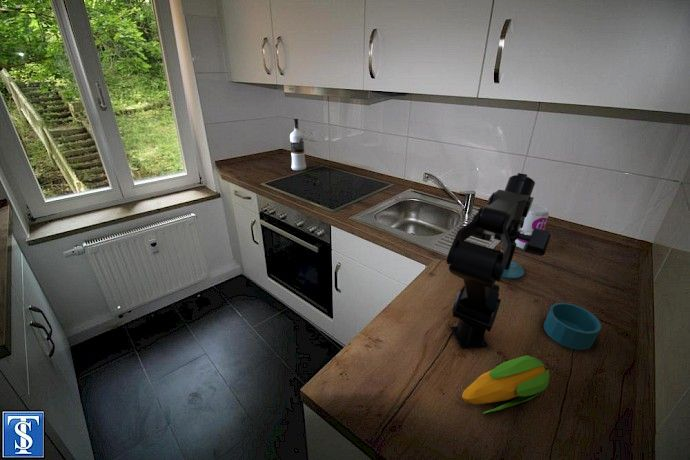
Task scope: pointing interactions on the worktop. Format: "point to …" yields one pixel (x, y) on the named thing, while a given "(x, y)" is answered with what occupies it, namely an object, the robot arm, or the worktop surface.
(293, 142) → the vodka
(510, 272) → the lid
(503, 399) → the corn
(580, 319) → the pot
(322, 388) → the worktop surface
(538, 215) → the supplement can
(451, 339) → the worktop surface
